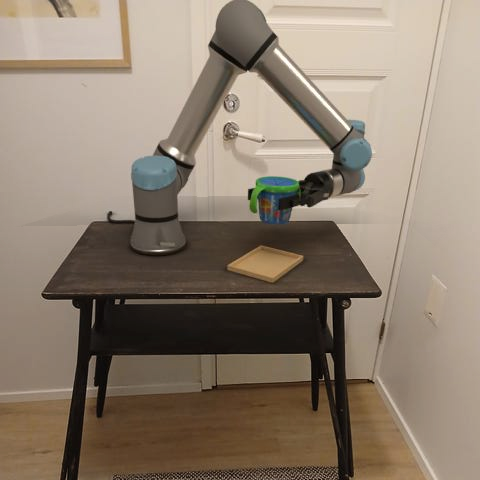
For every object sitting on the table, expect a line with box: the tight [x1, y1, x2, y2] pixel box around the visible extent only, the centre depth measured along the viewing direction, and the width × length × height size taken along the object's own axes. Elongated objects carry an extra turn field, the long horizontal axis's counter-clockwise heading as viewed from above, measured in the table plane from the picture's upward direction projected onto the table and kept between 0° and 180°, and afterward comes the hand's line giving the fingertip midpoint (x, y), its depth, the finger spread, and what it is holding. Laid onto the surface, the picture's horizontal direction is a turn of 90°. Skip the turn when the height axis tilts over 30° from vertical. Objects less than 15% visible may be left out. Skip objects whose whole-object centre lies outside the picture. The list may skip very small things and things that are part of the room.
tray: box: [226, 245, 304, 284], centre depth 127 cm, size 13×17×1 cm
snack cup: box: [248, 175, 301, 226], centre depth 121 cm, size 16×10×10 cm
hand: (263, 199), depth 118 cm, fingers closed on snack cup, 10 cm apart
